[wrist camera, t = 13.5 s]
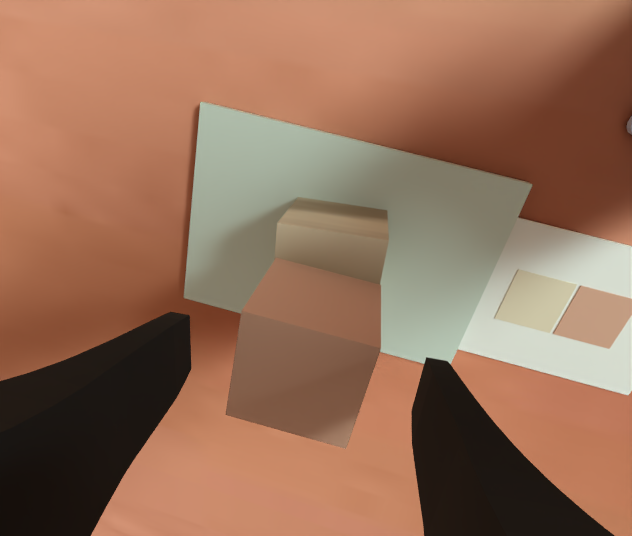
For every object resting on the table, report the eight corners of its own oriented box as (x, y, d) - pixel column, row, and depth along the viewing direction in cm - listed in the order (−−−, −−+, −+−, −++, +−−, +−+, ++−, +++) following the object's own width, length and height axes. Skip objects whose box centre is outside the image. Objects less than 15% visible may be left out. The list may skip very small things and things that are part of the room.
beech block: (298, 196, 20) (276, 223, 16) (387, 210, 20) (388, 240, 15) (290, 276, 22) (269, 318, 18) (371, 290, 21) (369, 336, 17)
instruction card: (490, 210, 19) (491, 211, 19) (717, 267, 19) (721, 269, 19) (434, 341, 23) (435, 343, 23) (626, 393, 22) (628, 396, 22)
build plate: (205, 101, 19) (200, 101, 19) (528, 181, 19) (532, 184, 18) (188, 293, 24) (183, 298, 23) (446, 363, 23) (447, 370, 23)
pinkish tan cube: (276, 257, 16) (241, 310, 12) (380, 284, 16) (381, 348, 12) (259, 343, 18) (225, 414, 14) (354, 369, 18) (345, 448, 14)
